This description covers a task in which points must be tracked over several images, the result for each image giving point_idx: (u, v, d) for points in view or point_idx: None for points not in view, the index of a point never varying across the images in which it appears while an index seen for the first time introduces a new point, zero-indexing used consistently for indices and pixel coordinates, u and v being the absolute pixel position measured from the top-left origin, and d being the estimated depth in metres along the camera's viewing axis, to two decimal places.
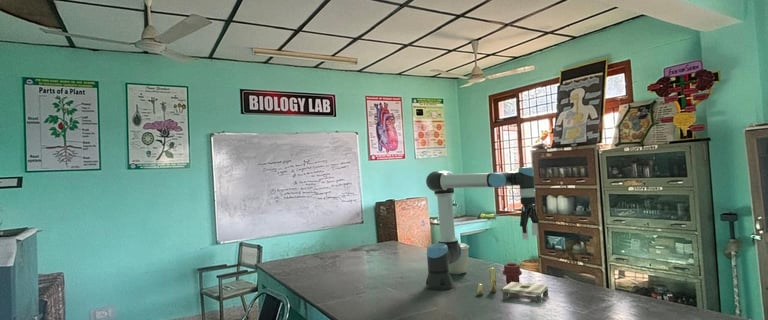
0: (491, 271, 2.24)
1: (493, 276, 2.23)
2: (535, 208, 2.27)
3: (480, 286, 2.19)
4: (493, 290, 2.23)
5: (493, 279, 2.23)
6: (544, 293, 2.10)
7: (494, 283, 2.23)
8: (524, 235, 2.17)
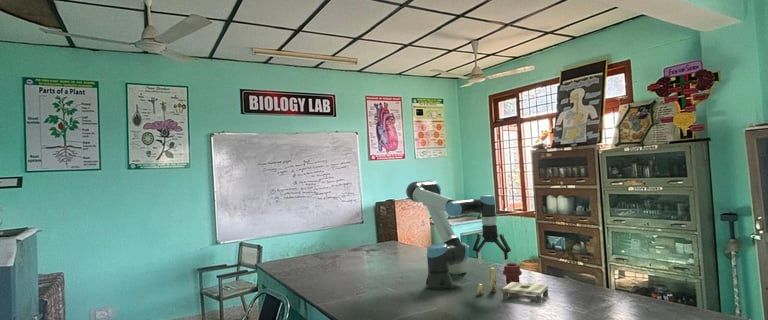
0: (491, 271, 2.24)
1: (493, 276, 2.23)
2: (502, 238, 2.20)
3: (480, 286, 2.19)
4: (493, 290, 2.23)
5: (493, 279, 2.23)
6: (544, 293, 2.10)
7: (494, 283, 2.23)
8: None
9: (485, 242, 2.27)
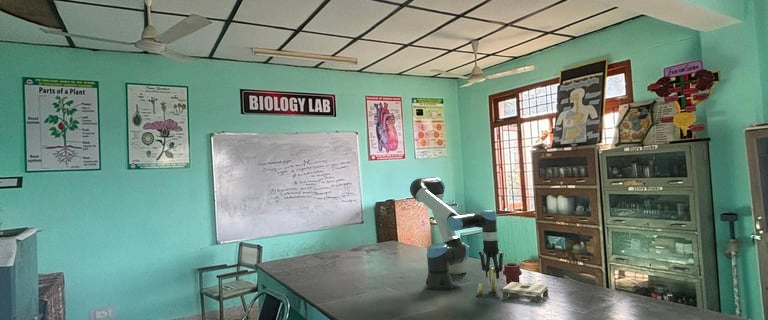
0: (491, 271, 2.24)
1: (493, 276, 2.23)
2: (501, 257, 2.21)
3: (480, 286, 2.19)
4: (493, 290, 2.23)
5: (493, 279, 2.23)
6: (544, 293, 2.10)
7: (494, 283, 2.23)
8: None
9: (489, 258, 2.26)
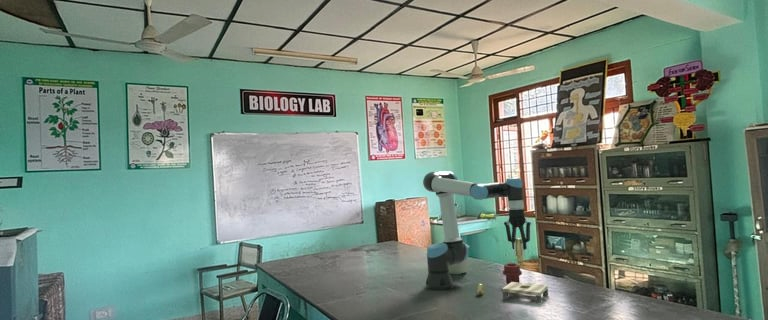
0: (518, 242, 2.12)
1: (520, 247, 2.11)
2: (528, 226, 2.09)
3: (480, 286, 2.19)
4: (520, 262, 2.11)
5: (520, 250, 2.11)
6: (544, 293, 2.10)
7: (521, 254, 2.11)
8: None
9: (515, 228, 2.14)
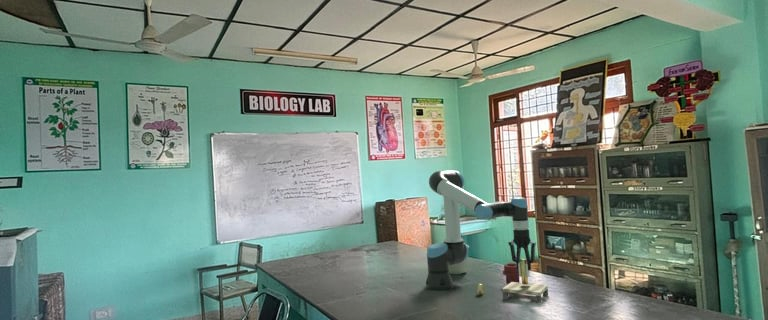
0: (522, 262, 2.10)
1: (524, 268, 2.10)
2: (533, 247, 2.07)
3: (480, 286, 2.19)
4: (525, 283, 2.09)
5: (524, 271, 2.10)
6: (544, 293, 2.10)
7: (526, 275, 2.10)
8: None
9: (520, 249, 2.13)
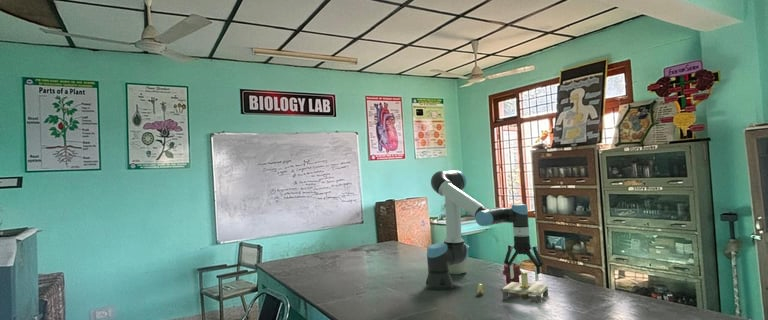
0: (523, 276, 2.10)
1: (525, 281, 2.10)
2: (535, 251, 2.07)
3: (480, 286, 2.19)
4: (525, 296, 2.09)
5: (525, 284, 2.10)
6: (544, 293, 2.10)
7: None
8: None
9: (517, 254, 2.14)
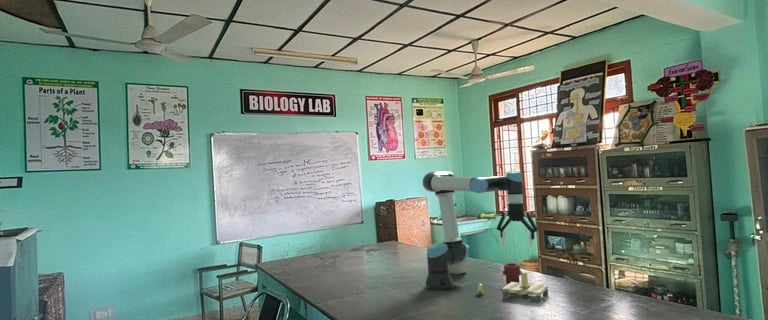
0: (523, 276, 2.10)
1: (525, 281, 2.10)
2: (529, 217, 2.09)
3: (480, 286, 2.19)
4: (525, 296, 2.09)
5: (525, 284, 2.10)
6: (544, 293, 2.10)
7: None
8: None
9: (510, 221, 2.17)
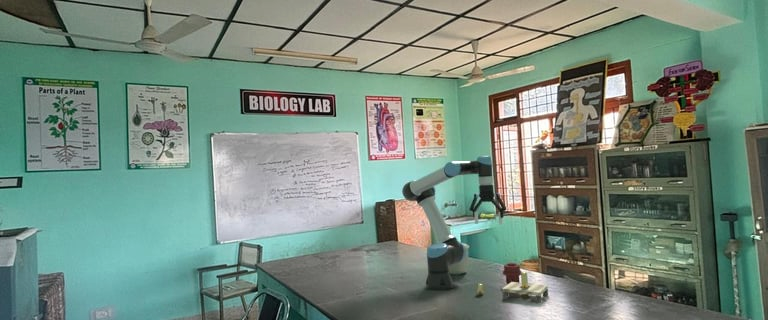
0: (523, 276, 2.10)
1: (525, 281, 2.10)
2: (498, 197, 2.26)
3: (480, 286, 2.19)
4: (525, 296, 2.09)
5: (525, 284, 2.10)
6: (544, 293, 2.10)
7: None
8: None
9: None
